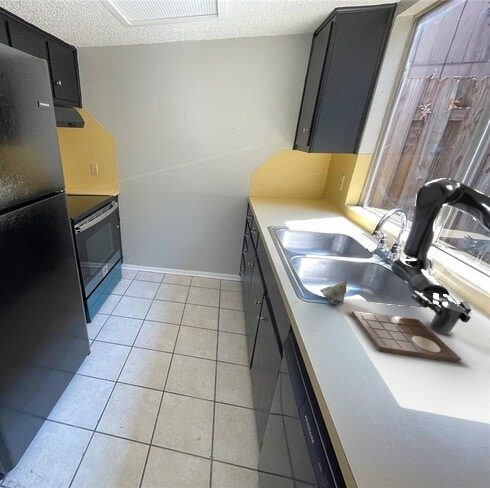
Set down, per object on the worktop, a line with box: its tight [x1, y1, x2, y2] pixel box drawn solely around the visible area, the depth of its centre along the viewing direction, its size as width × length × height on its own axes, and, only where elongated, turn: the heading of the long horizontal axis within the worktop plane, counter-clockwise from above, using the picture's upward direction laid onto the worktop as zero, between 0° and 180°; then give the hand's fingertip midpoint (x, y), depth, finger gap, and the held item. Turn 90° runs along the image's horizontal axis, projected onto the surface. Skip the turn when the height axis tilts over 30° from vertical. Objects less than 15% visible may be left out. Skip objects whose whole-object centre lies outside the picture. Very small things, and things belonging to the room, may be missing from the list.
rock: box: [319, 279, 348, 305], centre depth 92 cm, size 11×6×10 cm
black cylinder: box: [428, 302, 464, 336], centre depth 80 cm, size 5×5×9 cm
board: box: [350, 310, 462, 364], centre depth 78 cm, size 20×16×2 cm
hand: (454, 317), depth 77 cm, fingers closed on black cylinder, 5 cm apart
